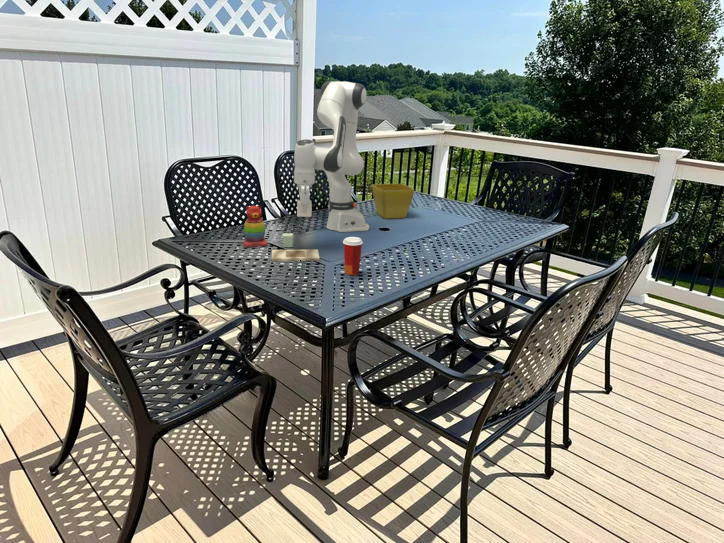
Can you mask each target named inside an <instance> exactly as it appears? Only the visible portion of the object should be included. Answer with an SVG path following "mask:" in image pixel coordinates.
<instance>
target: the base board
mask: <svg viewBox="0 0 724 543" xmlns="http://www.w3.org/2000/svg"><path fill="white" fill-rule="evenodd" d="M319 254H320V253H319V249H318V248H317V249H316V248H315V249H312V248H311V249H272V250H271V262H272V261H275V262H320V255H319ZM300 260H301V261H300ZM306 260H307V261H306Z"/></svg>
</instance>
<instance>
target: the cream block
mask: <svg viewBox="0 0 724 543" xmlns="http://www.w3.org/2000/svg"><path fill="white" fill-rule="evenodd" d="M296 202H297V203H296V205H297V206H296V207H297V208H296V210H297V211H296V215H297V217H298V218H299V217H302V218H303V217H304V218H305V217H312V212H313V211H312V209H313V208H312V207H313V204H312V200H311V199H310V203H309V205H307V213H303V212H302V204H301V201H300V199H297V200H296Z"/></svg>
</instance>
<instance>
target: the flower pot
mask: <svg viewBox="0 0 724 543" xmlns="http://www.w3.org/2000/svg"><path fill="white" fill-rule="evenodd" d="M371 188H372V196H373V202H374V206H375V209H376V212H377V215H379V216H380V217H382V218H383V219H384V220H385V219H405V218H406V216H407V215H408V212H409V210H410V206H411V204H412V201H413V197H414V192H415V189H414V188H413V187H410V186H408V185H406V184H404V183H385V184H383V183H379V184H377V183H375V184H372V185H371Z"/></svg>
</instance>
